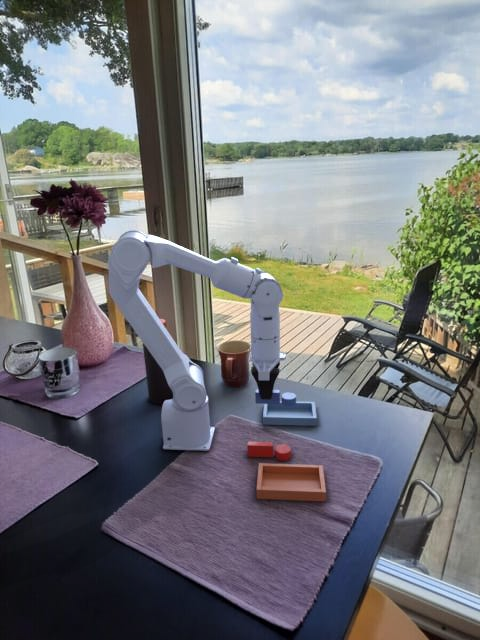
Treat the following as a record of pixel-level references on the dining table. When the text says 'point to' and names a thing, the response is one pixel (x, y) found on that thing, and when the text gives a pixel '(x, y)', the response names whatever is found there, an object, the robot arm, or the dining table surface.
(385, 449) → the dining table surface
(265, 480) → the terracotta tray
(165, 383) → the bottle
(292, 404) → the blue spoon
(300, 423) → the blue tray
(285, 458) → the red spoon
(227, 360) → the mug
